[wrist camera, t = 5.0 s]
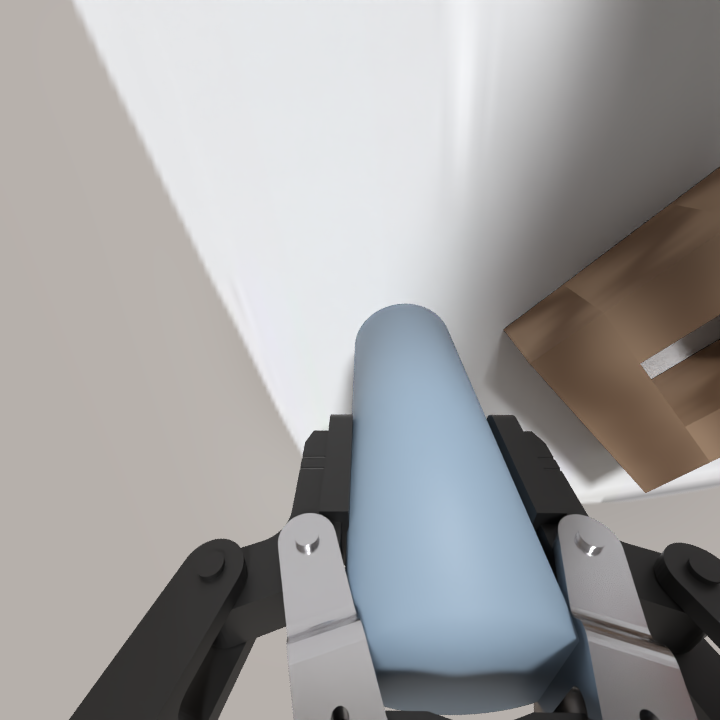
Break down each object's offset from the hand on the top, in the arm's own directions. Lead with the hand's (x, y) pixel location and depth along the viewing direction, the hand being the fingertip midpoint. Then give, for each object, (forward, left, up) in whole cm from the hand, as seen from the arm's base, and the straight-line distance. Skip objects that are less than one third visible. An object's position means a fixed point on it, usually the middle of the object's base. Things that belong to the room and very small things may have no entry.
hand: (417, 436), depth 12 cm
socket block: (-11, +13, -11) cm, 20 cm away
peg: (0, 0, -6) cm, 6 cm away
